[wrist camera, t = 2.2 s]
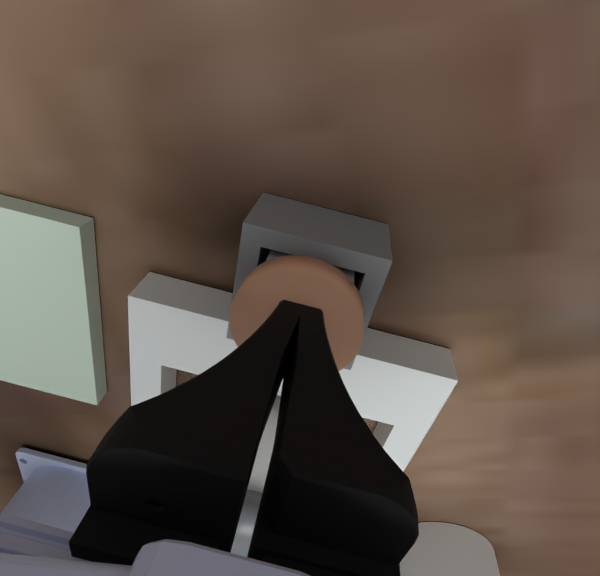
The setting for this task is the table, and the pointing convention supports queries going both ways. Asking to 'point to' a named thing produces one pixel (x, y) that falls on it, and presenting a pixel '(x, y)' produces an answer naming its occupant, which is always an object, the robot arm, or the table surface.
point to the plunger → (302, 300)
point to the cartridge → (256, 485)
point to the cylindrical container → (449, 552)
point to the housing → (219, 343)
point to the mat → (50, 301)
